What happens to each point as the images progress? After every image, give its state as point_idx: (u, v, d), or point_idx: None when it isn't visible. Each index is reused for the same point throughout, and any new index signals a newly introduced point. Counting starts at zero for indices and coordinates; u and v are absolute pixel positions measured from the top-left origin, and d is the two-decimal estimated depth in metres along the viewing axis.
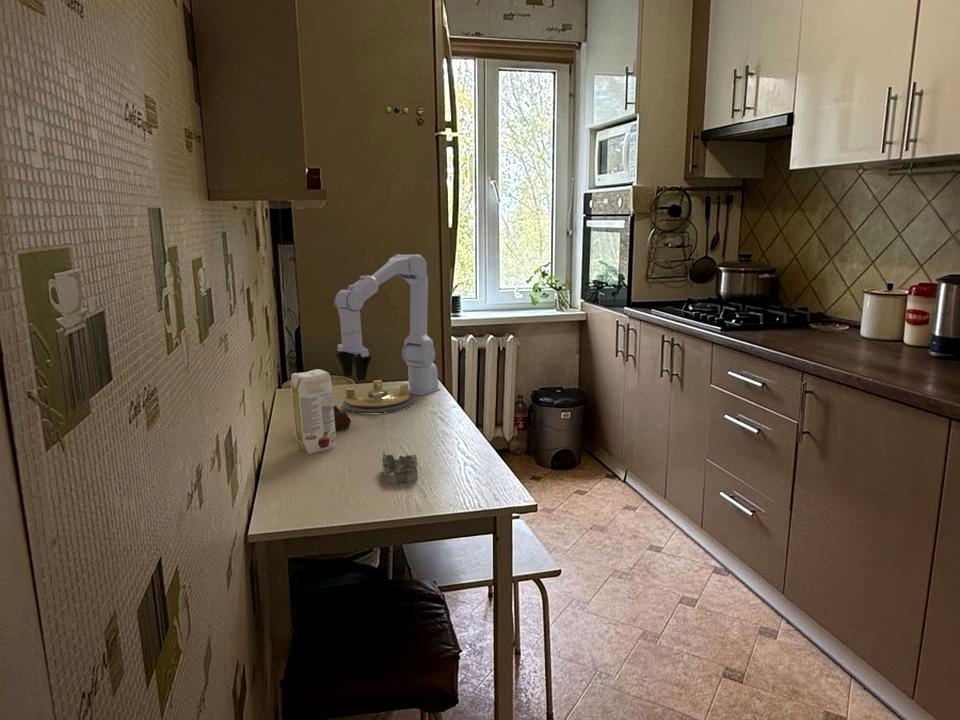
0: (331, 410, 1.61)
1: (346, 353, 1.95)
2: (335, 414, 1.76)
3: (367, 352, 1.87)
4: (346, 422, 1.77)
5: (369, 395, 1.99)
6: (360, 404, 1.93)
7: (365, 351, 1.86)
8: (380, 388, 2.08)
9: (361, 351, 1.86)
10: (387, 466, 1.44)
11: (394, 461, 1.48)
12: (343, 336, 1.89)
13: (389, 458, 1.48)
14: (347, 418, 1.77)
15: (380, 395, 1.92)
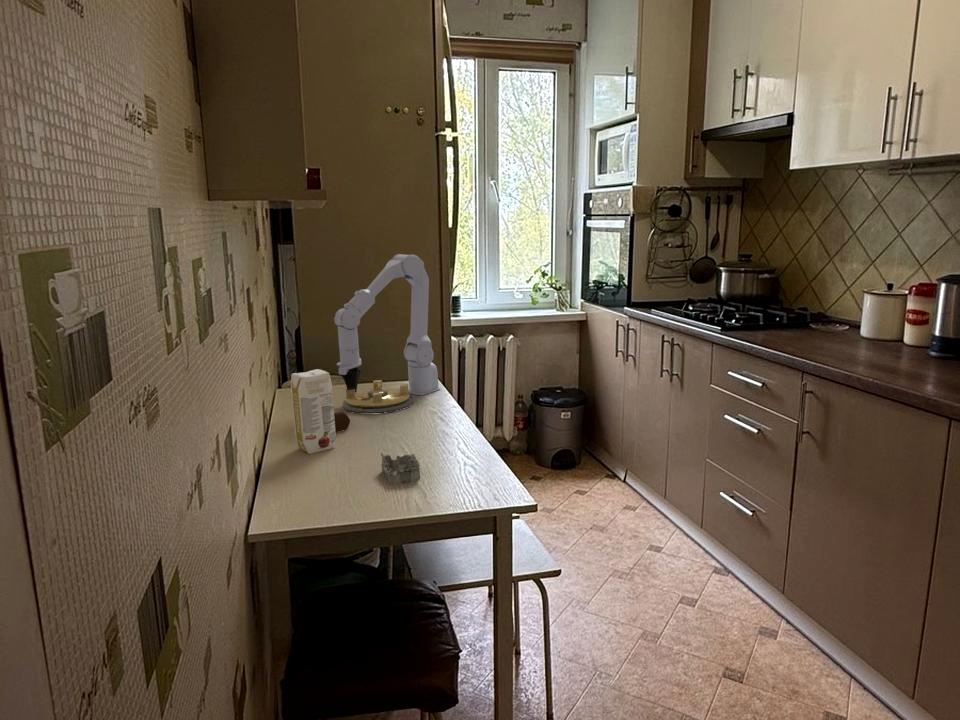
0: (331, 410, 1.61)
1: None
2: (335, 414, 1.75)
3: (343, 371, 1.94)
4: (345, 422, 1.77)
5: (369, 395, 1.99)
6: (360, 404, 1.93)
7: (341, 369, 1.94)
8: (380, 388, 2.08)
9: None
10: (387, 466, 1.44)
11: (392, 461, 1.48)
12: None
13: (387, 459, 1.48)
14: (347, 418, 1.77)
15: (380, 395, 1.92)
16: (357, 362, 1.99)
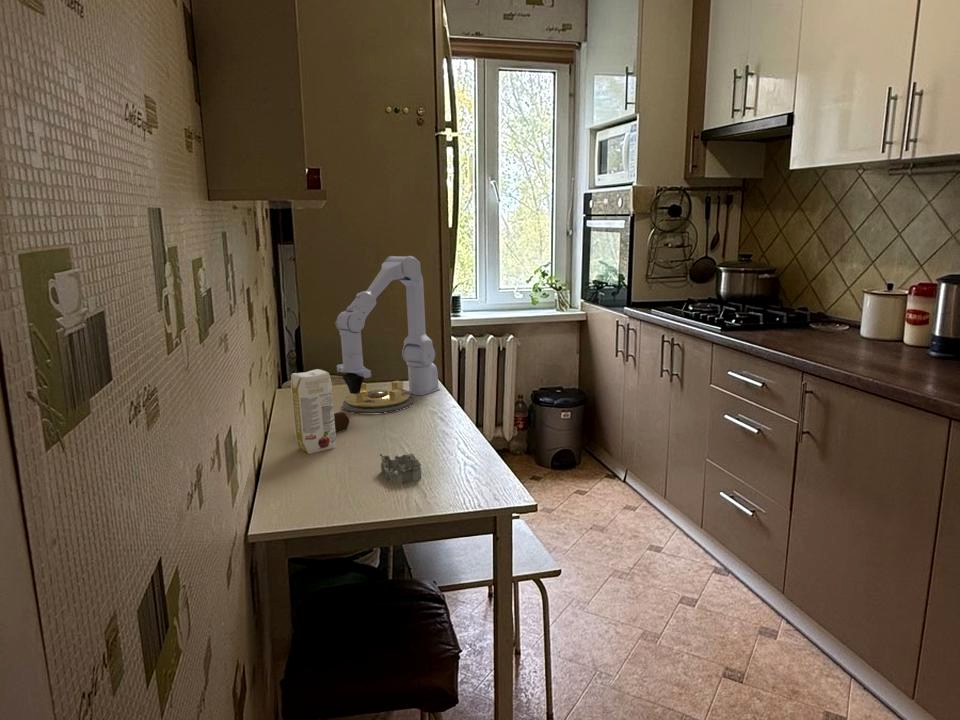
0: (331, 410, 1.61)
1: None
2: (335, 415, 1.75)
3: (370, 373, 1.89)
4: (345, 422, 1.77)
5: (375, 396, 1.98)
6: (383, 404, 1.92)
7: (368, 372, 1.89)
8: (365, 390, 2.06)
9: (364, 372, 1.89)
10: (387, 467, 1.44)
11: (391, 462, 1.47)
12: (345, 357, 1.91)
13: (385, 459, 1.48)
14: (346, 418, 1.77)
15: (400, 391, 1.95)
16: None
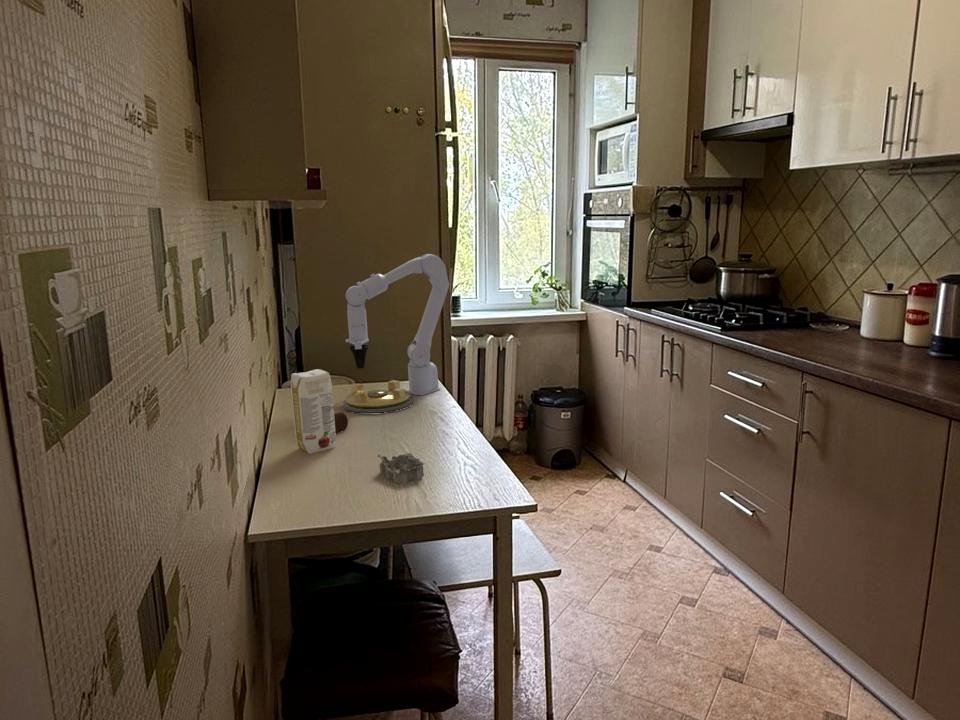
0: (331, 410, 1.61)
1: None
2: (336, 415, 1.75)
3: (360, 345, 2.01)
4: (345, 422, 1.77)
5: (377, 396, 1.98)
6: (389, 403, 1.93)
7: (358, 344, 2.01)
8: (362, 391, 2.05)
9: (354, 344, 2.01)
10: (388, 467, 1.43)
11: (389, 462, 1.47)
12: None
13: (383, 460, 1.47)
14: (345, 418, 1.77)
15: (403, 389, 1.97)
16: (367, 337, 2.07)
